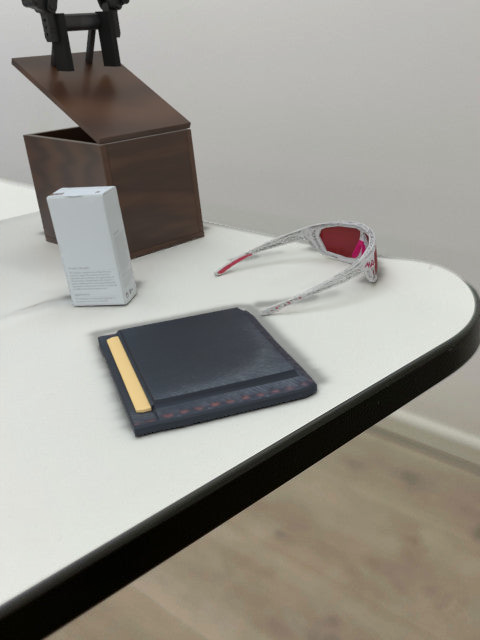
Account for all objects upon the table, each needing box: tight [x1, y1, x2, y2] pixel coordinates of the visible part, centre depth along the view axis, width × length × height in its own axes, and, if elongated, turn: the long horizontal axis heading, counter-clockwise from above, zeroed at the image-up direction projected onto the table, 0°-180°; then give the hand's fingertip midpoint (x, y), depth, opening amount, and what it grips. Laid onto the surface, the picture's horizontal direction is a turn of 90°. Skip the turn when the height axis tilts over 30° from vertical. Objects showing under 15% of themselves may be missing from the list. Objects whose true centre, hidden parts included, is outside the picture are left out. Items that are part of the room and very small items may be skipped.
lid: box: [10, 12, 192, 144], centre depth 95 cm, size 18×14×7 cm
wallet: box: [97, 306, 318, 437], centre depth 67 cm, size 20×2×15 cm
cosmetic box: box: [47, 186, 138, 307], centre depth 81 cm, size 6×4×12 cm
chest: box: [22, 125, 205, 260], centre depth 103 cm, size 18×14×14 cm
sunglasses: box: [213, 220, 378, 316], centre depth 87 cm, size 17×17×5 cm
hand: (89, 68), depth 97 cm, fingers closed on lid, 6 cm apart
